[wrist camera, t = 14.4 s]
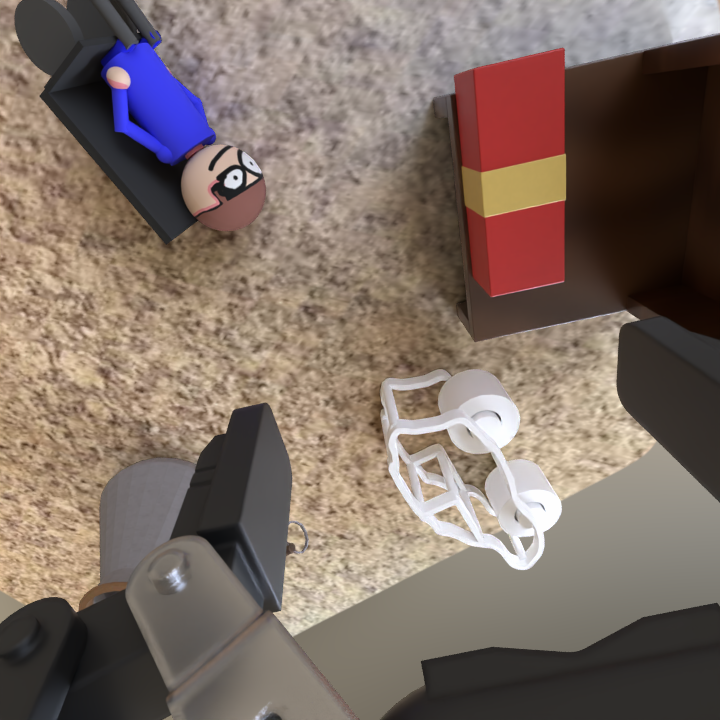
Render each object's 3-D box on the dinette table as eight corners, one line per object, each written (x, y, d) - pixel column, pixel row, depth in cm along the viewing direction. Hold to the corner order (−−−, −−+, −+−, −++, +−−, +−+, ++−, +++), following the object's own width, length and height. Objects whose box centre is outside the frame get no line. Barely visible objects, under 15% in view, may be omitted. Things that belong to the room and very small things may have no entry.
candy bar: (452, 75, 26) (472, 68, 23) (533, 56, 26) (566, 46, 23) (471, 277, 32) (490, 298, 28) (539, 263, 32) (566, 282, 28)
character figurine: (131, -34, 27) (282, 194, 34) (36, 41, 28) (201, 250, 35) (75, -93, 20) (280, 210, 27) (-48, 10, 21) (179, 279, 28)
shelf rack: (432, 97, 31) (530, 79, 16) (675, 42, 31) (1011, -31, 16) (457, 316, 39) (540, 444, 24) (653, 275, 38) (867, 379, 23)
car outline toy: (548, 488, 48) (583, 546, 41) (450, 530, 50) (468, 592, 43) (475, 333, 39) (505, 375, 33) (360, 391, 41) (366, 442, 35)
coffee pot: (173, 549, 49) (114, 711, 35) (86, 479, 44) (-19, 637, 31) (344, 453, 44) (352, 597, 31) (269, 364, 40) (239, 489, 26)
